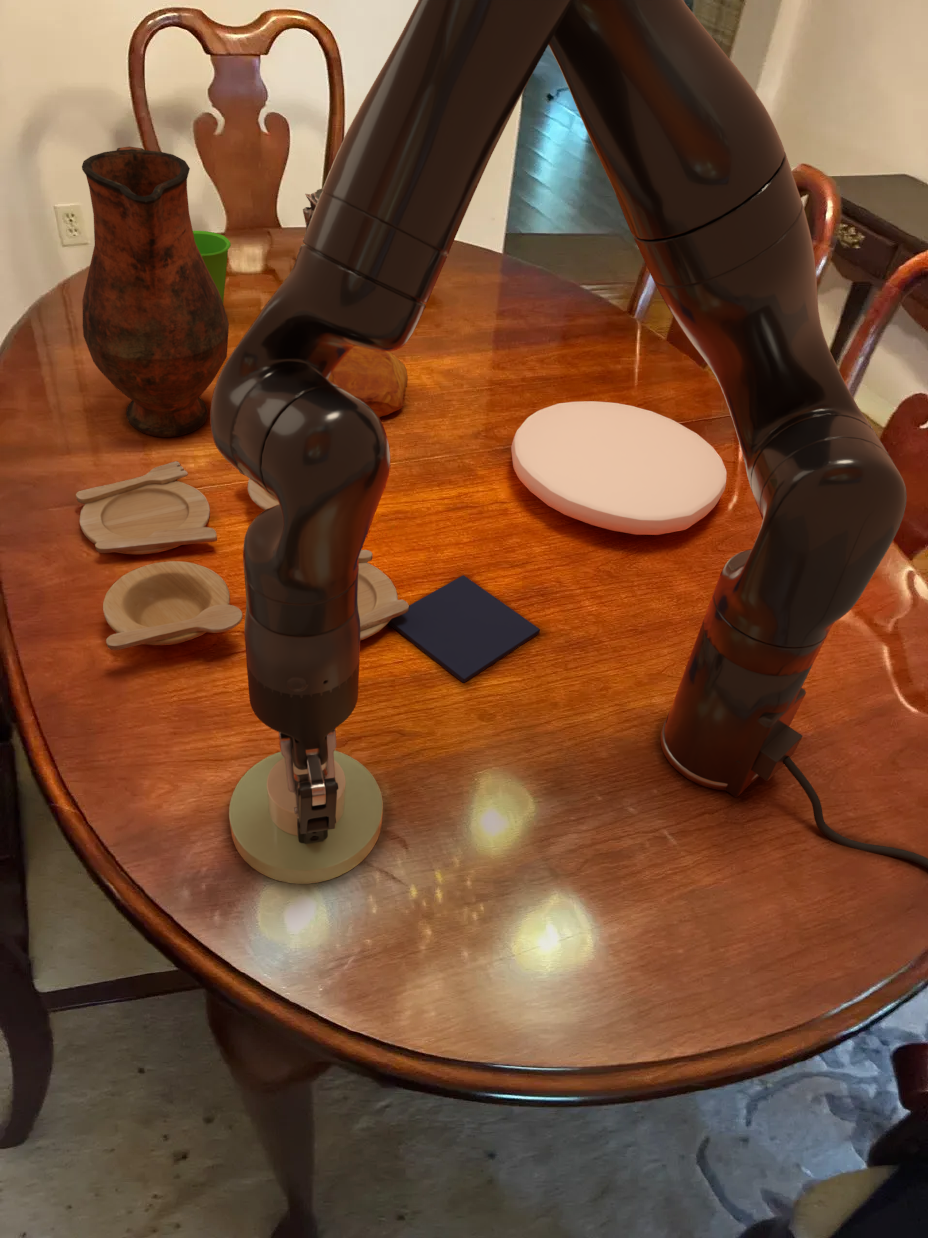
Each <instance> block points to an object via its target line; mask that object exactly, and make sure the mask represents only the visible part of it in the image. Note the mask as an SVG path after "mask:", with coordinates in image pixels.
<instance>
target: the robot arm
mask: <svg viewBox="0 0 928 1238" xmlns="http://www.w3.org/2000/svg"><path fill="white" fill-rule="evenodd" d="M547 48H549V49H550V51H551V54H552V56H553V57H554V59H555V61H556V63H557V66H558V67H559V69H560V71H561V74H562V77H563V78H564V81H565V83H566V86H567V88H568V90H569V92H570V95H571V97H572V100H573V103H574V105H575V107H576V109H577V112H578V114H579V116H580V119H581V121H582V123H583V126H584V128H585V131H586V132H587V135H588V138H589V139H590V142H591V144H592V146H593V149H594V151H595V153H596V154H597V157H598V159H599V162H600V164H601V166H602V168H603V170H604V172H605V174H606V177H607V179H608V181H609V183H610V185H611V187H612V190H613V192H614V194H615V197H616V199H617V202H618V204H619V207H620V209H621V212H622V214H623V216H624V219H625V222H626V225H627V226H628V229H629V231H630V234H631V235H632V238H633V240H634V242H635V244H636V247H637V248H638V250H639V253H640V255H641V258H642V259H643V261H644V263H645V266H646V268H647V270H648V272H649V274H650V276H651V279H652V280H653V283H654V285H655V287H656V288H657V291H658V292H659V294H660V296H661V298H662V299H663V302H664V303H665V306H666V307H667V309H668V310H669V312H670V314H671V316H672V317H673V319H674V320H675V321H676V323H677V325H678V326H679V327H680V329H681V330H682V332H683V333H684V335H685V336H686V337H687V339H688V341H690V343H691V344H692V346H693V347H694V348H695V350H696V351H697V352H698V354H699V355H700V357H702V358H703V360H704V361H705V363H706V364H707V366H708V367H709V369H710V370H711V372H712V373H713V376H714V377H715V378H716V380H717V383H718V384H719V387H720V390H721V392H722V394H723V397H724V399H725V403H726V405H727V409H728V411H729V414H730V417H731V420H732V423H733V426H734V429H735V433H736V437H737V440H738V443H739V447H740V450H741V455H742V458H743V462H744V466H745V471H746V475H747V479H748V483H749V487H750V491H751V492H752V496H753V498H754V501H755V504H756V506H757V509H758V512H759V514H760V516H761V520H762V521H761V524H760V525H761V526H760V528H759V531H758V534H757V537H756V539H755V542H754V544H753V546H752V548H749V549H745V550H743V551H740V552H737V553H735V554H734V555H733V556H731V557H729V559H728V561H727V562H725V564H724V565H723V567H722V569H721V572H720V574H719V576H718V580H717V582H716V585H715V588H714V590H713V593H712V595H711V598H710V601H709V603H708V607H707V608H706V612H705V615H704V618H703V620H702V623H701V626H700V627H699V631H698V632H697V633H698V634H697V636H696V639H695V641H694V644H693V647H692V650H691V653H690V655H689V658H688V661H687V664H686V665H685V669H684V672H683V674H682V677H681V679H680V681H679V685H678V688H677V690H676V693H675V696H674V699H673V701H672V704H671V707H670V710H669V712H668V713H667V716H666V719H665V720H664V723H663V725H662V728H661V732H660V739H659V740H660V747H661V751H662V753H663V755H664V757H665V758H666V760H667V762H668V763H669V764H670V765H671V766H672V767H673V768H674V769H675V771H677V772H678V773H679V774H680V775H681V776H683V777H685V778H686V779H688V780H689V781H691V782H692V783H694V784H697V785H699V786H702V787H705V788H708V789H713V790H719V791H725V792H727V793H728V794H730V795H731V796H733V797H735V798H736V797H739V796H740V795H741V794H742V793H743V792H744V791H745V790H746V789H747V788H748V787H749V786H750V785H751V784H752V783H754V782H755V781H756V780H757V779H758V778H759V777H761V779H763V780H765V781H766V782H768V781H769V780H770V779H771V778H772V777H773V776H774V775H775V774H776V773H777V772H778V771H779V770H780V769H781V768H782V767H783V766H785V767H786V770H788V772H790V775H792V776H793V777H794V779H795V780H796V781H797V783H798V784H799V786H800V787H801V788H802V789H803V791H804V793H805V794H806V796H807V797H808V799H809V801H810V802H811V806H812V811H813V812H812V813H813V819H814V823H815V825H816V827H817V829H818V830H819V831H820V833H822V834H823V835H824V836H825V837H827V838H828V839H829V840H831V841H833V842H834V843H837V844H839V845H841V846H844V847H846V848H851V849H855V850H859V851H863V852H867V853H871V854H877V855H881V856H882V855H883V856H888V857H894V858H899V859H903V860H907V861H910V862H913V863H915V864H918V865H920V866H922V867H924V868H926V869H928V857H926V856H924V855H921V854H919V853H916V852H913V851H909V850H906V849H903V848H898V847H893V846H892V847H891V846H885V845H879V844H872V843H866V842H862V841H857V840H853V839H850V838H848V837H845V836H843V835H841V834H840V833H838V832H836V831H834V829H832V828H831V827H830V826H829V825H828V824H827V823H826V821H825V819H824V815H823V814H824V813H823V807H822V803H821V800H820V798H819V797H820V796H819V795H818V794H817V791H816V790H815V789H814V787H813V786H812V784H811V783H810V781H809V779H808V778H807V777H806V776H805V775H804V773H803V772H802V771H801V770H800V768H799V767H798V765H796V763H795V762H794V760H793V759H792V756H793V755H794V754H795V752H796V750H797V748H798V746H799V744H800V743H801V740H802V739H803V736H804V735H802V734H801V733H800V732H798V731H797V730H795V729H794V728H792V727H791V725H792V722H793V720H794V718H795V717H796V714H797V712H798V710H799V709H800V706H801V705H802V702H803V701H804V699H805V696H806V693H807V690H806V689H805V688H803V686H804V684H805V681H806V679H807V678H808V675H809V674H810V671H811V669H812V668H813V665H814V663H815V661H816V659H817V658H818V655H819V653H820V651H821V649H822V647H823V645H824V643H825V641H826V639H827V637H828V635H829V633H830V632H831V630H832V627H833V626H834V624H836V623H837V622H838V621H839V620H841V619H842V618H843V617H844V616H846V615H847V614H848V613H849V612H850V611H851V610H852V609H853V608H854V607H855V605H856V604H857V602H858V601H859V599H860V598H861V596H862V595H863V594H864V591H865V590H866V588H867V587H868V584H869V583H870V582H871V579H872V578H873V576H874V574H875V572H876V571H877V570H878V567H879V566H880V564H881V563H882V561H883V559H884V557H885V556H886V554H887V552H888V550H889V548H890V547H891V545H892V543H893V541H894V540H895V537H896V535H897V533H898V531H899V528H900V526H901V524H902V521H903V519H904V515H905V513H906V506H907V498H908V497H907V496H908V495H907V487H906V483H905V481H904V478H903V476H902V475H901V472H900V471H899V469H898V467H897V466H896V464H895V463H894V461H893V459H892V457H891V456H890V454H889V452H888V451H887V449H886V447H885V446H884V444H883V443H882V440H881V439H880V438H879V436H878V434H877V432H876V431H875V430H874V427H873V426H872V425H871V423H870V422H869V420H868V419H867V418H866V416H865V415H864V414H863V412H862V410H861V409H860V407H859V406H858V404H857V401H855V400H856V399H854V397H853V395H852V393H851V391H850V390H849V387H848V386H847V384H846V381H845V380H844V378H843V376H842V373H841V372H840V369H839V367H838V365H837V363H836V361H835V359H834V356H833V354H832V352H831V350H830V347H829V345H828V342H827V339H826V337H825V334H824V331H823V327H822V323H821V317H820V311H819V310H820V309H819V298H818V279H817V270H816V258H815V251H814V245H813V240H812V235H811V231H810V226H809V222H808V219H807V218H808V217H807V214H806V211H805V207H804V203H803V201H802V198H801V195H800V191H799V189H798V186H797V183H796V180H795V177H794V173H793V171H792V168H791V165H790V161H789V159H788V156H787V154H786V151H785V147H784V144H783V142H782V139H781V137H780V135H779V133H778V131H777V128H776V126H775V124H774V122H773V119H772V118H771V115H770V113H769V112H768V109H767V108H766V106H765V105H764V103H763V102H762V100H761V99H760V97H759V96H758V94H757V93H756V91H755V90H754V89H753V87H752V86H751V83H749V82H748V80H747V79H746V77H745V76H744V75H743V74H742V72H741V71H740V70H739V69H738V67H737V66H736V65H735V63H734V62H733V61H732V60H731V59H730V58H729V56H728V55H727V54H726V52H725V51H724V50H723V49H722V48H721V47H720V45H719V44H718V43H717V42H716V40H715V39H714V38H713V37H712V35H711V34H710V32H708V31H707V29H706V28H705V27H704V25H703V24H702V23H701V22H700V20H699V19H698V18H697V16H696V15H695V13H694V12H693V11H692V10H691V9H690V7H689V6H688V5H687V3H686V2H685V0H417V2H416V4H415V6H414V8H413V9H412V12H411V14H410V16H409V18H408V20H407V22H406V23H405V26H404V28H403V29H402V31H401V33H400V35H399V37H398V39H397V40H396V42H395V44H394V46H393V47H392V50H391V52H390V54H389V55H388V57H387V59H386V60H385V62H384V64H383V65H382V67H381V69H380V70H379V72H378V74H377V76H376V77H375V80H374V81H373V83H372V85H371V87H370V89H369V90H368V92H367V94H366V95H365V96H364V99H363V100H362V103H361V105H360V106H359V108H358V110H357V112H356V114H355V115H354V117H353V119H352V121H351V123H350V124H349V127H348V129H347V131H346V133H345V135H344V138H343V140H342V142H341V143H340V146H339V148H338V150H337V152H336V155H335V157H334V160H333V162H332V164H331V166H330V169H329V171H328V174H327V175H326V178H325V181H324V184H323V186H322V188H323V189H322V188H321V189H322V192H321V194H320V197H319V199H318V202H317V205H316V207H315V210H314V212H313V215H312V218H311V220H310V223H309V226H308V228H307V231H306V230H305V234H304V235H303V238H302V243H303V244H301V245H300V247H299V249H298V253H297V255H296V259H295V262H294V265H293V267H292V269H291V270H290V272H289V273H288V275H287V276H286V278H284V280H283V282H282V283H281V284H280V285H279V287H277V289H276V291H275V292H274V293H273V294H272V295H271V297H270V298H269V299H268V301H267V302H266V304H265V305H264V307H263V308H262V309H261V311H260V313H259V314H258V316H257V317H256V318H255V320H254V321H253V323H252V324H251V325H250V327H249V328H248V330H247V331H246V332H245V334H244V335H243V337H242V338H241V339H240V341H239V343H238V344H237V345H236V347H235V348H234V350H233V351H232V353H231V354H230V356H229V357H228V359H227V361H226V362H225V364H224V366H223V367H222V369H221V371H220V373H219V376H218V377H217V380H216V383H215V385H214V389H213V392H212V397H211V401H210V412H209V422H210V423H209V425H210V432H211V437H212V440H213V443H214V445H215V447H216V449H217V451H218V452H219V453H220V455H221V456H222V457H223V458H224V459H225V461H227V462H228V463H229V464H230V465H231V466H232V467H234V468H235V469H236V470H238V472H239V471H240V472H242V473H243V474H244V476H245V475H246V477H247V478H248V479H251V480H252V481H253V482H255V483H256V484H257V485H259V486H260V487H261V488H263V489H264V490H265V491H266V492H268V493H269V494H270V495H272V496H273V497H274V498H275V499H277V500H278V502H279V505H276V506H273V507H270V508H268V509H266V510H262V511H261V512H260V513H258V514H257V515H256V516H255V517H254V518H253V520H252V521H251V523H250V524H249V525H248V527H247V530H246V531H245V535H244V538H243V548H242V549H243V550H242V562H243V563H242V564H243V575H244V585H245V586H244V588H245V602H246V603H245V615H244V628H243V629H244V634H243V635H244V647H245V661H246V671H247V685H248V686H247V687H248V698H249V704H250V707H251V710H252V712H253V713H254V715H255V716H256V717H257V719H258V720H259V721H260V722H261V723H262V724H264V725H265V726H266V727H267V728H270V729H271V730H273V731H275V732H278V743H279V750H280V752H281V754H282V756H283V757H284V760H285V772H286V782H287V786H288V789H289V791H290V792H292V793H294V795H295V806H296V807H294V813H295V814H296V815H297V834H298V840H299V842H300V843H305V844H310V843H316V842H322V841H324V840H325V839H326V838H327V837H328V830H329V829H335V823H336V802H337V790H338V783H337V782H336V780H335V766H334V750H335V751H336V749H337V733H336V729H337V728H338V727H339V726H341V725H342V724H343V723H344V722H345V721H347V720H348V718H349V717H350V716H351V715H352V713H353V712H354V710H355V708H356V706H357V703H358V700H359V683H360V682H359V681H360V655H361V651H360V650H361V640H360V617H359V611H358V576H359V559H358V558H359V555H360V552H361V550H363V547H364V544H365V541H366V538H367V536H368V534H369V531H370V528H371V526H372V522H373V520H374V517H375V516H376V515H375V514H376V512H377V509H378V507H379V504H380V502H381V499H382V497H383V494H384V491H385V489H386V487H387V484H388V479H389V476H390V472H391V471H390V470H391V449H390V443H389V439H388V434H387V432H386V428H385V427H384V425H383V422H382V421H381V418H379V417H378V416H377V414H376V413H375V412H374V411H373V410H372V409H371V408H370V407H369V406H368V405H367V404H366V403H364V402H363V401H361V400H360V399H358V398H357V397H355V396H354V395H352V394H350V393H349V392H347V391H346V390H344V389H343V388H341V387H339V386H338V385H336V384H335V383H333V382H331V381H330V380H329V378H330V376H331V374H332V372H333V371H334V369H335V368H336V366H337V365H338V364H339V363H340V361H341V360H342V359H343V358H344V357H345V356H346V354H347V353H348V352H349V351H350V350H351V349H352V348H353V347H354V346H360V347H363V348H367V349H370V350H375V351H383V352H390V353H391V352H393V351H394V352H395V351H398V350H400V349H402V348H403V347H404V346H405V345H406V344H407V343H408V342H409V340H410V339H411V337H412V335H413V334H414V332H415V330H416V329H417V327H418V324H419V322H420V320H421V318H422V316H423V313H424V311H425V309H426V304H427V303H428V302H429V300H430V297H431V295H432V293H433V290H434V288H435V286H436V284H437V281H438V279H439V277H440V274H441V272H442V269H443V267H444V265H445V263H446V260H447V258H448V255H449V253H450V250H451V248H452V246H453V243H454V241H455V239H456V237H457V234H458V232H459V230H460V227H461V226H462V222H463V220H464V218H465V216H466V213H467V212H468V210H469V206H470V204H471V202H472V200H473V198H474V195H475V193H476V190H477V188H478V187H479V184H480V181H481V179H482V177H483V175H484V173H485V170H486V168H487V166H488V164H489V163H490V159H491V157H492V155H493V153H494V152H495V149H496V147H497V145H498V143H499V141H500V139H501V137H502V135H503V133H504V131H505V129H506V127H507V124H508V123H509V120H510V118H511V117H512V115H513V113H514V110H515V108H516V106H517V105H518V103H519V101H520V98H521V97H522V95H523V93H524V91H525V89H526V87H527V85H528V84H529V81H530V79H531V78H532V76H533V74H534V72H535V71H536V68H537V67H538V64H539V63H540V61H541V59H542V57H543V56H544V54H545V52H546V50H547ZM240 472H239V473H240ZM243 474H242V475H243ZM293 763H294V766H295V767H296V768H297V769H300V770H305V769H307V773H308V774H301V775H297V774H295V773H294V768H293ZM324 763H325V768H324V770H323V771H322V767H321V766H322V765H323V764H324Z"/></svg>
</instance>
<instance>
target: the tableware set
mask: <svg viewBox="0 0 928 1238" xmlns="http://www.w3.org/2000/svg"><path fill="white" fill-rule="evenodd" d="M238 472H239V473H240V474H241V475H242V476H243V475H244V474H243V473H242V472H240V471H239V470H238ZM187 476H189V473H188V470H186V469H185V468H184V467H183V466H181V463H180V462H179V461H178V460H175V461H171V462H168V463H166V464H165V463H164V464H162V465H159V466H156V467H153V468H152V469H150V470H149V471H148V472H147V473H146V474H144V475H140V476H136V477H133V478H129V479H125V480H121V481H116V482H113V483H109V484H104V485H100V486H95V487H90V488H86V489H82V490H79V491H77V492H76V493H75V498H76V501H77V502H78V503H79V504H84V505H83V507H82V508H81V510H80V514H79V525H80V529H81V531H82V533H83V534H84V536H85V537H86V538H87V540H89V542H91V543H92V544H94V546H95V550H96V552H98V553H99V554H100V553H101V554H110V553H118V554H124V555H125V554H126V555H148V554H149V555H150V554H157V553H158V554H159V553H162V552H165V551H169V550H172V549H175V548H178V547H180V546H185V545H194V544H195V545H196V544H197V545H198V544H205V543H214V542H217V541H218V534H217V531H216V530H215V529H214V528H213V527H209V526H207V524H208V523H209V520H210V517H211V508H210V507H211V506H210V503H209V501H208V499H207V497H206V496H205V495H204V494H203V493H202V492H201V491H200V490H199V489H197V488H196V487H194V486H193V485H190V484H187V483H185V482H182V481H179V480H180V479H182V478H185V477H187ZM244 476H246V475H244ZM246 477H247V476H246ZM247 493H248V495H249V497H250V500H251V501H253V503H255V505H256V506H257V507H258V508H260V509H261V510H262V511H264V510H266V509H268V508H270V507H273V506H276V505H279V502H278V500H277V499H275V498H274V497H273V496H272V495H270V494H269V493H268V492H266V491H265V490H264V489H263V488H261V487H260V486H259V485H257V484H256V483H255V482H253V481H252V480H251V479H250V478H248V481H247ZM373 557H374V555H373V552H372V551H371V550H368V549H361V552H360V555H359V558H358V559H359V576H358V611H359V617H360V641H363V640H365V639H368V638H370V637H372V636H374V635H375V634H377V633H379V632H380V631H381V630H383V629H384V628H385V627H386V626H387V625H389V624H388V622H389V621H390V620H391V619H392V618H395V617H397V616H400V615H402V614H405V613H406V612H408V610H409V605H410V604H409V603H408V602H407V601H406V600H404V599H399V598H398V597H399V596H398V592H397V588H396V586H395V584H394V582H393V581H392V580H391V578H389V576H388V575H386V574H385V572H383V571H382V570H381V569H380V568H378V567H376V566H375V565H373V564H371V563H370V562H371V561H372V560H373ZM230 593H231V592H230V589H229V587H228V584H227V583H226V581H225V580H224V579H223V578H222V576H221V575H220V574H218V573H217V572H216V571H214V570H212V569H210V568H208V567H206V566H203V565H201V564H198V563H194V562H189V561H182V560H180V561H179V560H178V561H177V560H168V561H159V562H154V563H149V564H146V565H143V566H140V567H137V568H135V569H133V570H130V571H129V572H127V573H125V574H124V575H122V576H120V577H119V578H118V579H117V580H115V582H114V583H112V585H111V586H110V587H109V589H108V590H107V591H106V593H105V596H104V598H103V602H102V603H103V604H102V610H103V615H104V619H105V620H106V623H107V624H108V626H109V627H110V628H111V629H112V630H113V631H114V632H115V633H112V634H110V635H109V636H108V637H107V638H106V640H105V643H106V646H107V649H109V650H112V651H119V650H124V649H128V648H132V647H137V646H141V645H148V646H149V645H150V646H167V645H168V646H169V645H178V644H181V643H185V642H187V641H192V640H194V639H196V638H198V637H200V636H203V635H205V634H206V633H211V634H212V633H213V634H218V633H223V632H227V631H230V630H232V629H233V628H235V627H237V626H238V625H239V624H240V623H241V622H242V620H243V611H242V610H241V609H240V607H238V606H236V605H233V604H230V602H231V594H230Z"/></svg>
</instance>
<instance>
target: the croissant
mask: <svg viewBox="0 0 928 1238" xmlns="http://www.w3.org/2000/svg"><path fill="white" fill-rule="evenodd" d="M408 376H409V375H408V370H407V367H406V365H405V364H404V362H403V361H401V360H400V359H399V358H398V357H397V356H395V355H394V354H393V353H392V352H391V351H390V352H383V351H375V350H370V349H367V348H363V347H360V346H354V347H353V348H352V349H351V350H350V351H349V352H348V353H347V354H346V356H345V357H344V358H343V359H342V360H341V361H340V363H339V364H338V365H337V366H336V368H335V369H334V371H333V372H332V374H331V376H330V378H329V380H330V381H331V382H333V383H335V384H336V385H338V386H339V387H341V388H343V389H344V390H346V391H347V392H349V393H350V394H352V395H354V396H355V397H357V398H358V399H360V400H361V401H363V402H364V403H366V404H367V405H368V406H369V407H370V408H371V409H372V410H373V411H374V412H375V413H376V414H377V416H378V417H379V419H381V417H384V416H388V415H390V414H392V413H394V412H396V411H399V410H401V409H402V408H404V407H405V405H404V404H403V403H404V396H405V392H406V390H407V388H408V380H409V378H408Z"/></svg>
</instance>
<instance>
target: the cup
mask: <svg viewBox="0 0 928 1238" xmlns="http://www.w3.org/2000/svg"><path fill="white" fill-rule="evenodd" d="M193 234H194V239H195V243H196V245H197V247H198V250H199V252H200V254H201V256H202V258H203V261H204V263H205V265H206V267H207V269H208V271H209V273H210V275H211V277H212V279H213V281H214V283H215V285H216V287H217V289H218V291H219V293H220V296H221V299H222V302H223V303H224V300H225V289H226V288H225V287H226V277H227V266H228V255H229V249H230V248H231V241H230V239H229V238H227V237H226V236H225V235H222V234H221V233H217V232H213V231H207V230H193Z"/></svg>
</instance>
